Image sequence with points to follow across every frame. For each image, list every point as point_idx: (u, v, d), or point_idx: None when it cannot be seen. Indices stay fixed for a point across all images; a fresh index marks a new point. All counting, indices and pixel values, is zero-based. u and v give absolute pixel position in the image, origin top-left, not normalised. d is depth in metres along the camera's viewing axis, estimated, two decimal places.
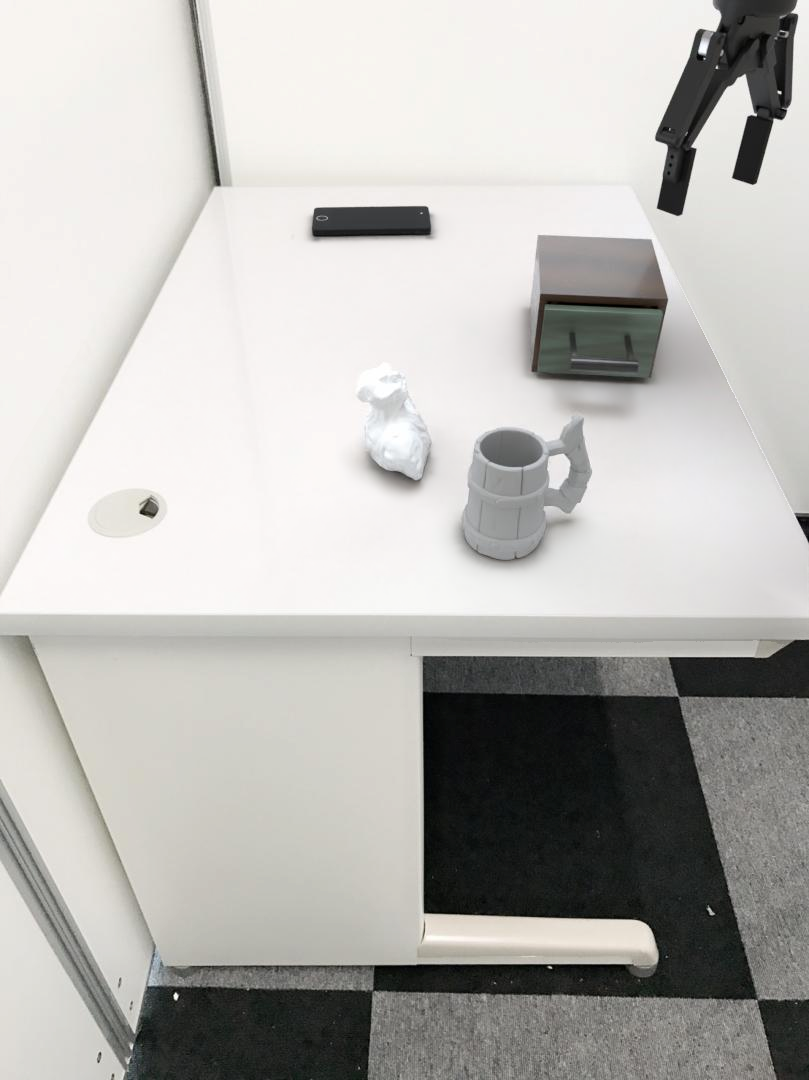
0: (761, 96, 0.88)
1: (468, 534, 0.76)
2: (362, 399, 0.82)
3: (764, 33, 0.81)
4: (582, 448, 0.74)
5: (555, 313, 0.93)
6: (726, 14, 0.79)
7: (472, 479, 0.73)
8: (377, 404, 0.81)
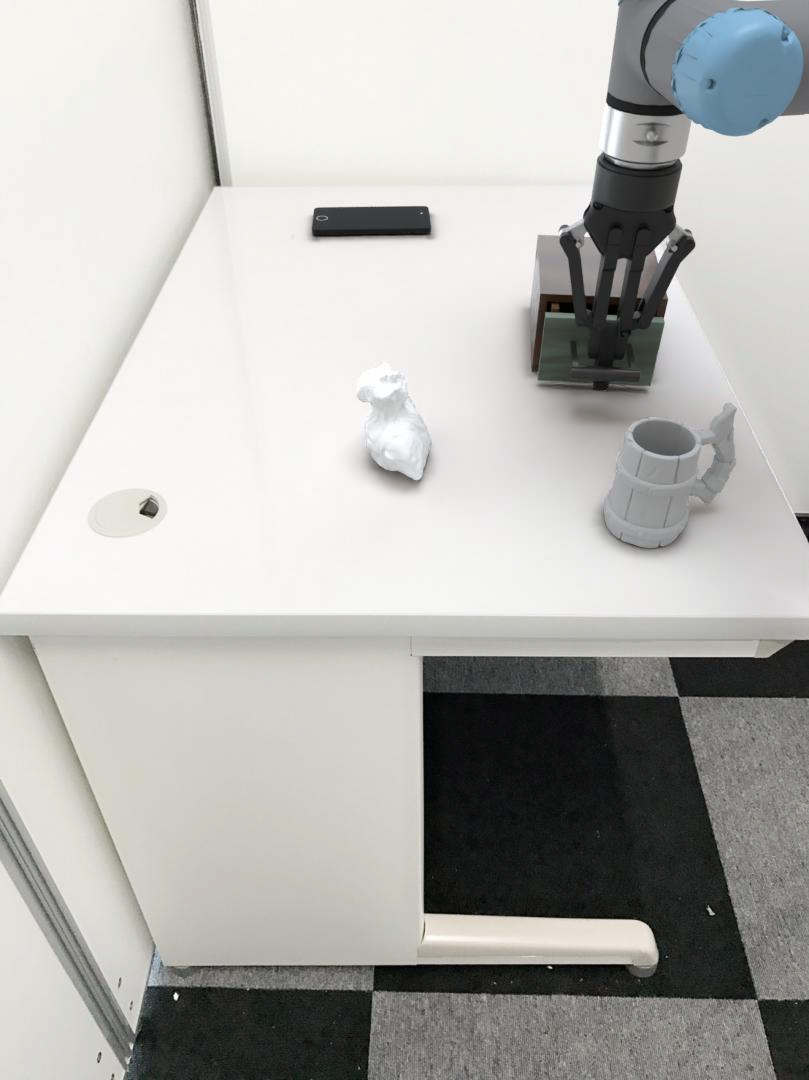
0: None
1: (613, 522, 0.77)
2: (362, 399, 0.82)
3: None
4: (731, 438, 0.75)
5: (556, 321, 0.91)
6: None
7: (623, 468, 0.74)
8: (377, 404, 0.81)
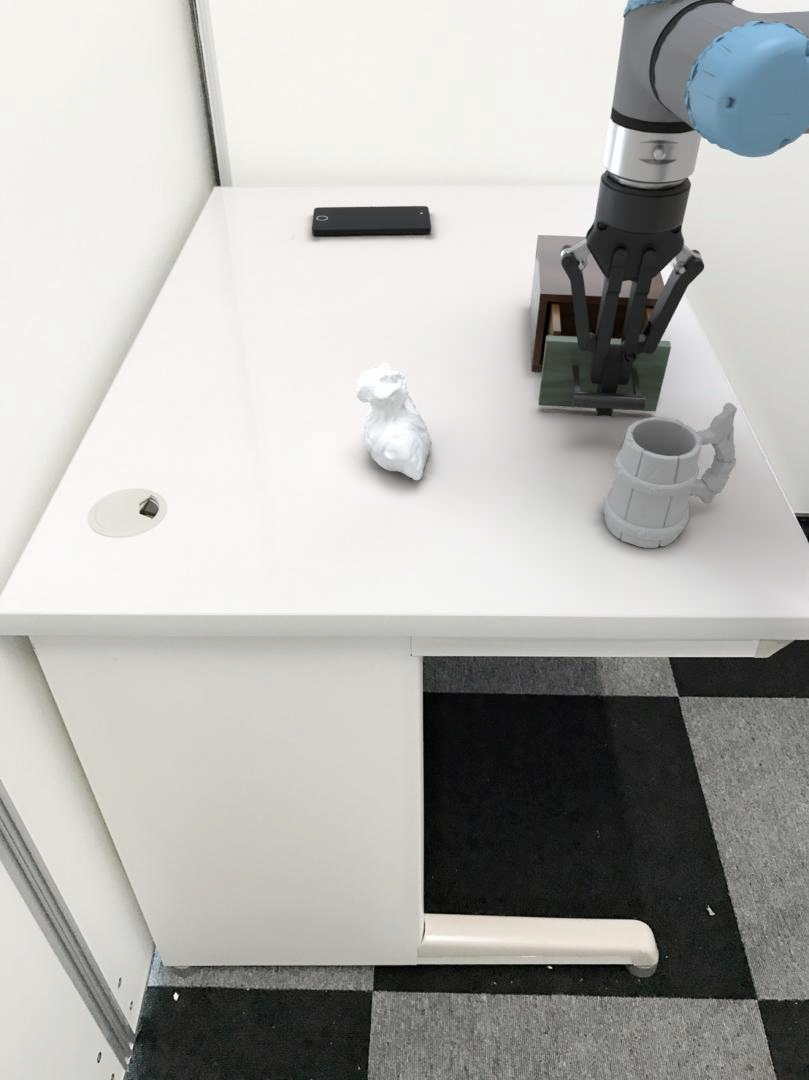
0: None
1: (613, 522, 0.77)
2: (362, 399, 0.82)
3: None
4: (731, 438, 0.75)
5: (557, 345, 0.88)
6: None
7: (623, 468, 0.74)
8: (377, 404, 0.81)
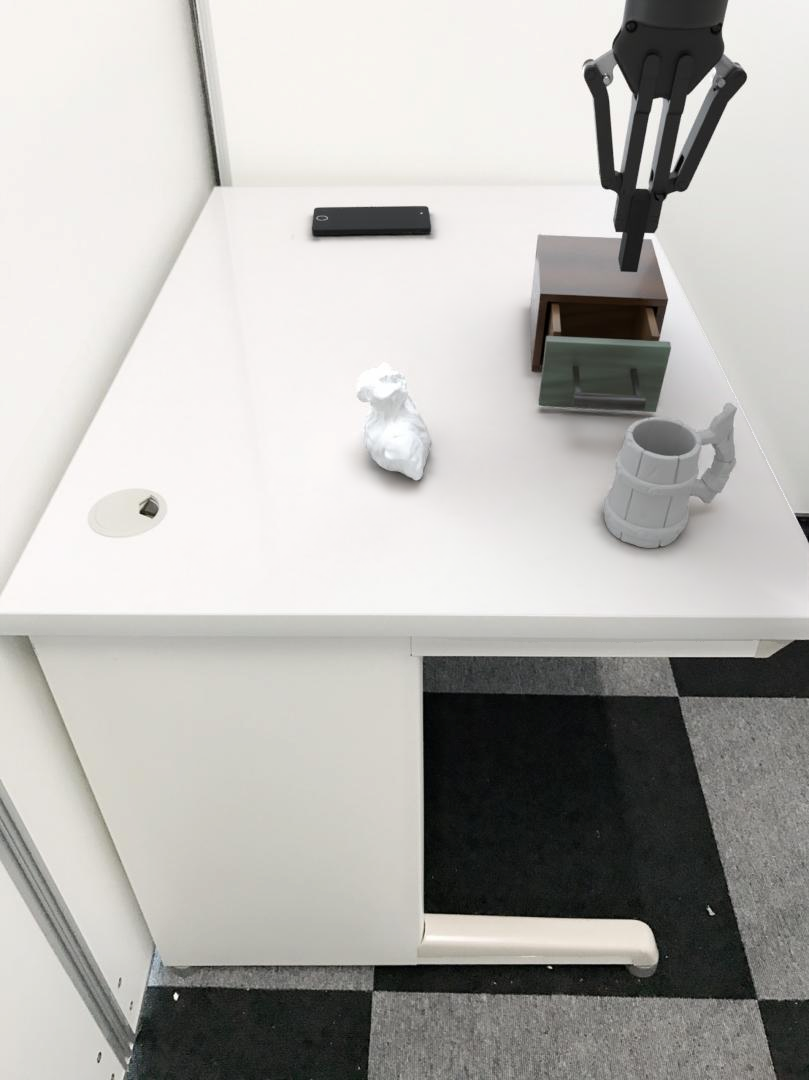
0: None
1: (613, 522, 0.77)
2: (362, 399, 0.82)
3: None
4: (731, 438, 0.75)
5: (557, 345, 0.87)
6: (723, 21, 0.65)
7: (623, 468, 0.74)
8: (377, 404, 0.81)
